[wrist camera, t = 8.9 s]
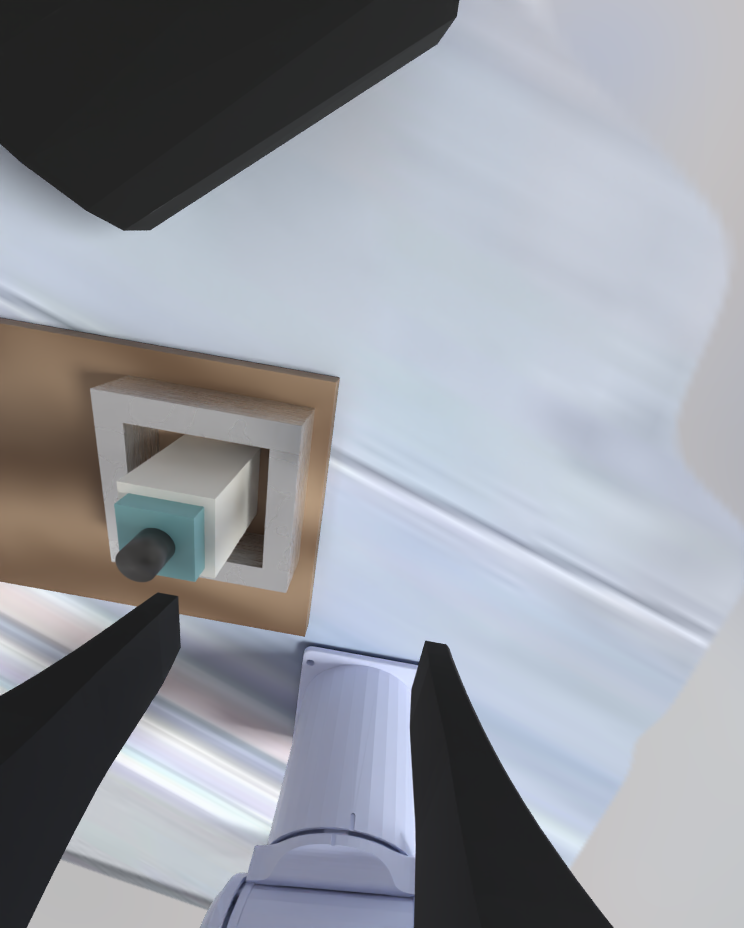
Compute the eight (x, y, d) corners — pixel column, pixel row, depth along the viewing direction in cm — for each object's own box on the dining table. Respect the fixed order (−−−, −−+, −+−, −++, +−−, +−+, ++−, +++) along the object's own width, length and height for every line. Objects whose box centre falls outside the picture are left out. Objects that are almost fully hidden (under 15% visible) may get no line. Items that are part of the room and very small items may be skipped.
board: (308, 623, 25) (304, 636, 24) (-18, 564, 25) (-34, 575, 24) (339, 377, 19) (336, 382, 18) (-93, 301, 19) (-118, 302, 18)
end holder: (298, 560, 22) (286, 593, 20) (142, 532, 22) (111, 561, 20) (314, 408, 18) (301, 426, 16) (129, 375, 18) (89, 388, 16)
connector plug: (257, 513, 21) (190, 615, 14) (186, 500, 21) (89, 597, 15) (260, 447, 19) (188, 530, 13) (184, 434, 19) (75, 509, 13)
